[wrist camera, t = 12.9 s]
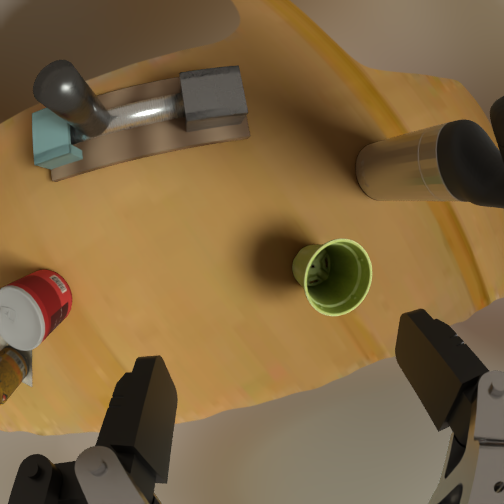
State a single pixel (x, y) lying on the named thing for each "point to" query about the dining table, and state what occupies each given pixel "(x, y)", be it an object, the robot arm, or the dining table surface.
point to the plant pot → (334, 275)
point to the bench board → (144, 133)
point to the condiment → (13, 369)
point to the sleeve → (213, 98)
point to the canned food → (33, 308)
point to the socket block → (52, 140)
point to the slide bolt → (97, 105)
